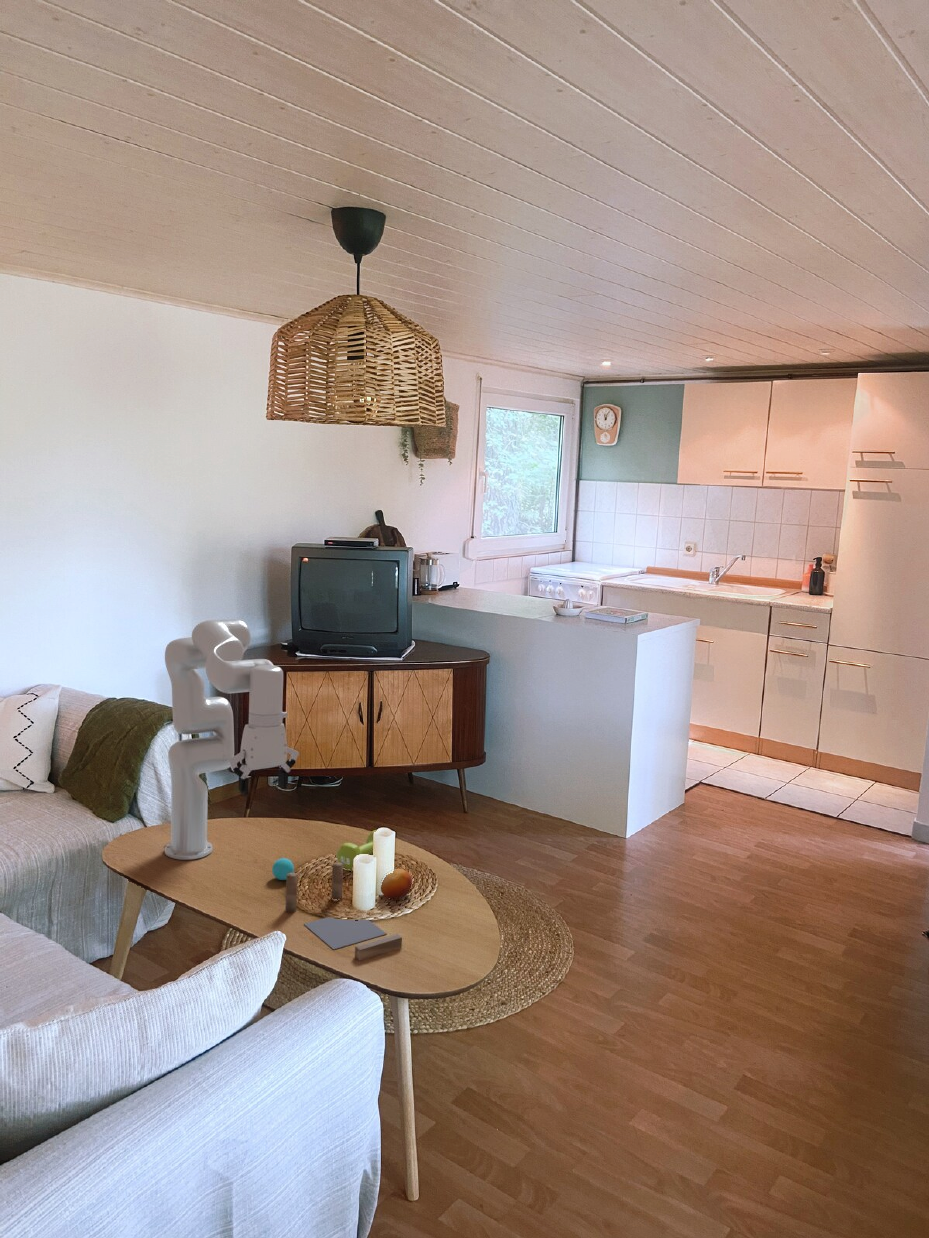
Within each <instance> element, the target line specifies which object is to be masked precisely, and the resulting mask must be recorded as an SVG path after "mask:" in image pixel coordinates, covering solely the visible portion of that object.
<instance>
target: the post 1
mask: <svg viewBox="0 0 929 1238" xmlns="http://www.w3.org/2000/svg"><path fill="white" fill-rule="evenodd" d="M298 875H299V874H298V873H295V872H293V873H288V874H287V878H286V880H285V881H286V882H285V884H286V885H285V907H284V908H285V909H284V910H285V912H286V913H288V914H294V913H296V912H297V902H298V901H297V900H298V877H299V876H298Z"/></svg>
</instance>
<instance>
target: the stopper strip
mask: <svg viewBox="0 0 929 1238" xmlns="http://www.w3.org/2000/svg"><path fill="white" fill-rule="evenodd" d="M402 945H403V936H401V935H399V934H398V933H395V934H392V935H388V936H385V937H382V938H378V939H373V940H371V941H368V942H364V943H361V944H357V945H355V947H354V957H355V958H356V960H358V961H359V962H360V961H363V960H366V959H369V958H372V957H376V956H380V955H382V954H386V953H389V952H393V951H395V950H399V949H402Z"/></svg>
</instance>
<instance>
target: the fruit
mask: <svg viewBox="0 0 929 1238" xmlns="http://www.w3.org/2000/svg"><path fill="white" fill-rule="evenodd" d="M393 870H394V871H393V873H390V874H388V875H386V877H385V878H384V880H383V882H382V885H381V884H380V891H381V893H382V894H383V896H384V897H386V898H387V899H388V898H390V899H389V900H391V899H396V900H395V901H398V899H399V900H403V899H405V900H406V897H407V896H408V895H410V894H409V893H410V892H411V889H412V885H413V878H412V875H411V874H410V873H409V872H408V871H407V870H405V869H403V868H394V869H393Z"/></svg>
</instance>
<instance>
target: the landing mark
mask: <svg viewBox="0 0 929 1238" xmlns="http://www.w3.org/2000/svg"><path fill="white" fill-rule="evenodd" d="M329 917H330V916H327V917H323V918H320V919H317V920H313V921H309V922H305V923H304V924H303V925H304V926H305V927H306V928H307V929H308V930H310V931H311V932H312V933H313V934H314V935H315V936H317V937H318V938H319V939H320V940H321V941H323V942H324V943H325V944H326V945H327V946H328V947H329V948H330V949H332V950H339V949H342V948H345V947H348V946H352V945H356V944H359V943H361V942H366V941H369V940H372V939H373V940H374V939H375V938H380V937H383V936H386V935H387V932H385V931H384V930H383V929H381V928H380V927H378V925H376V924H375V923H373V922H372V921H370V919H368V920H358V921H355V920H341V919H334V918H329Z"/></svg>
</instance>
